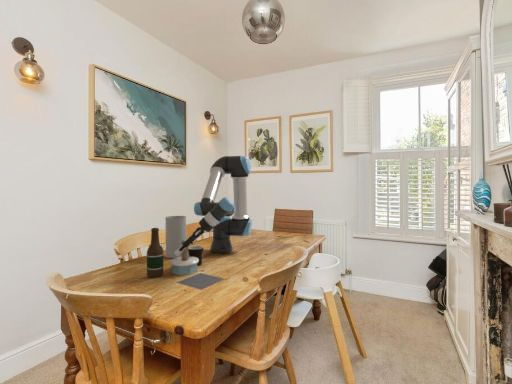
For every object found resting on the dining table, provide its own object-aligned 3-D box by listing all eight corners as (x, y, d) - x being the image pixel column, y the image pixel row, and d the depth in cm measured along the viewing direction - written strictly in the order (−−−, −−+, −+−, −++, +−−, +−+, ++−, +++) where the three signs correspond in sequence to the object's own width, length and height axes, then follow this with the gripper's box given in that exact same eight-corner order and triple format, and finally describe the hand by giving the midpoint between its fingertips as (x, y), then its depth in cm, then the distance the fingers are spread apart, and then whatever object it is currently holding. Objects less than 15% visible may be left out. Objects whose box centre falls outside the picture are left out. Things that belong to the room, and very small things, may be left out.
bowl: (185, 266, 151) (185, 257, 151) (202, 270, 145) (202, 261, 145) (167, 272, 141) (167, 263, 140) (184, 277, 134) (184, 267, 134)
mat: (200, 273, 140) (200, 272, 140) (225, 279, 131) (225, 278, 131) (176, 283, 126) (176, 282, 126) (201, 290, 118) (201, 289, 118)
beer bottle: (146, 275, 137) (146, 227, 137) (162, 273, 140) (162, 226, 140) (147, 280, 130) (146, 229, 130) (164, 277, 133) (163, 228, 133)
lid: (185, 257, 152) (185, 237, 152) (204, 261, 145) (204, 240, 144) (165, 263, 140) (165, 242, 140) (184, 267, 133) (184, 245, 133)
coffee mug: (200, 267, 149) (200, 249, 149) (185, 266, 151) (185, 249, 151) (208, 262, 161) (207, 245, 160) (194, 261, 162) (194, 244, 162)
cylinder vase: (174, 252, 182) (174, 215, 181) (190, 254, 177) (190, 216, 176) (161, 257, 170) (161, 217, 169) (177, 259, 165) (177, 218, 165)
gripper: (210, 230, 132) (177, 263, 133) (217, 224, 151) (188, 253, 152) (199, 219, 132) (166, 252, 133) (208, 214, 151) (179, 243, 152)
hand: (178, 252), depth 142 cm, fingers open, 7 cm apart
